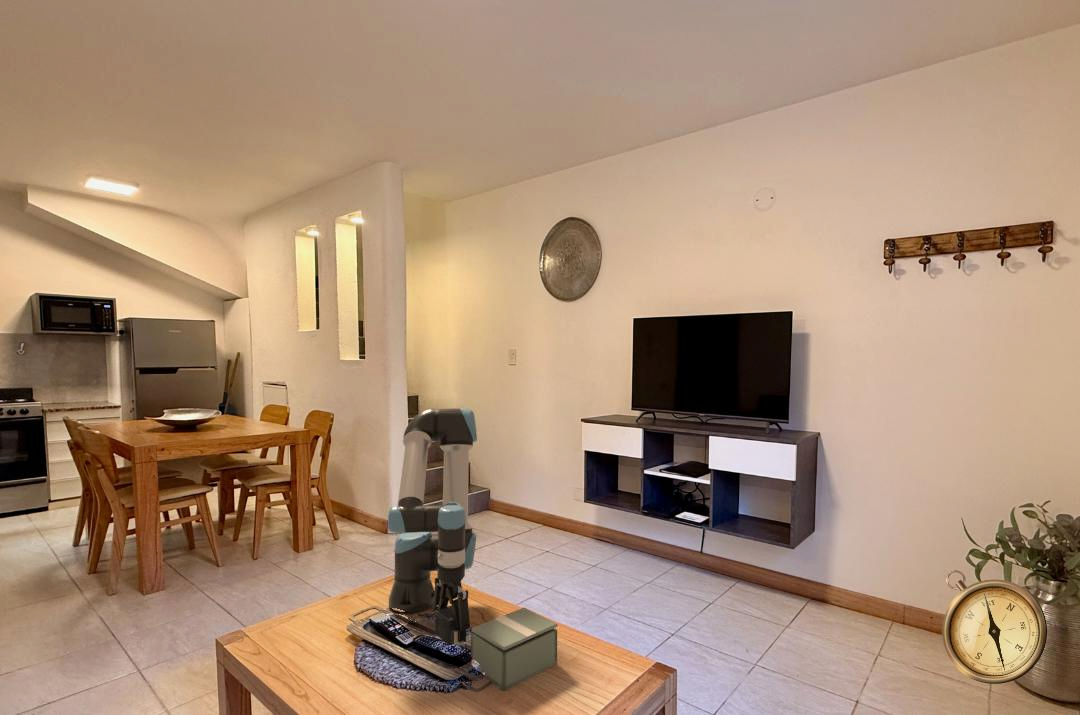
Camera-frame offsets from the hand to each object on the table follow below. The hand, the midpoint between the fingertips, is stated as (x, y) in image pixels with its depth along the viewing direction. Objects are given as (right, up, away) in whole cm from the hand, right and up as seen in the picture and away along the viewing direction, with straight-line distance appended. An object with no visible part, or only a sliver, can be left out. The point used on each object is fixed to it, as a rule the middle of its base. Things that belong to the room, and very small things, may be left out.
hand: (450, 645), depth 146 cm
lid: (+18, +8, -7) cm, 21 cm away
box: (0, -2, 0) cm, 2 cm away
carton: (+18, -1, -7) cm, 19 cm away
